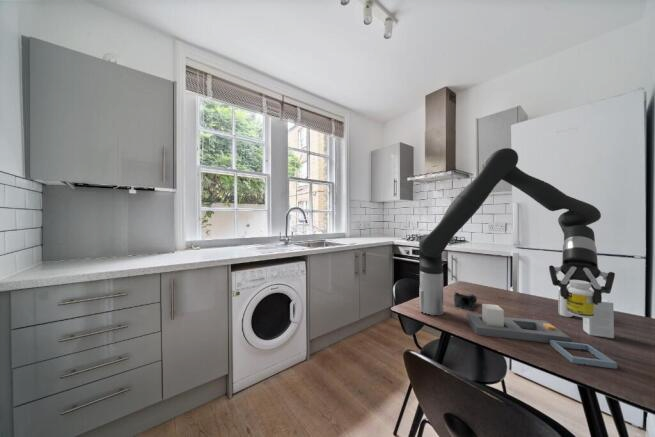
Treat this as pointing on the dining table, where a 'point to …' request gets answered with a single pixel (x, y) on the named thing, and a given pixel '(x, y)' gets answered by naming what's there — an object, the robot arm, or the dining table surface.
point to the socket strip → (512, 326)
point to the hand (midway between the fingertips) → (580, 300)
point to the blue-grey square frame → (580, 360)
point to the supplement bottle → (580, 299)
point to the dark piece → (465, 301)
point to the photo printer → (563, 305)
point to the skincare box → (601, 320)
